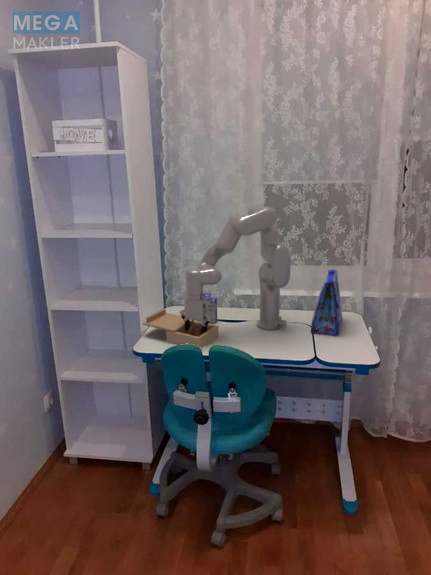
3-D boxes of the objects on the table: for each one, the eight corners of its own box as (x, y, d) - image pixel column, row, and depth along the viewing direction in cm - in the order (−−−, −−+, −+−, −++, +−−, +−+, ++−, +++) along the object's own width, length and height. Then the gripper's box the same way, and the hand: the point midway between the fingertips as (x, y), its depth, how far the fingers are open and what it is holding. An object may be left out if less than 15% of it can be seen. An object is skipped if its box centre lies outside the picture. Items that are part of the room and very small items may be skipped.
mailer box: (218, 336, 218) (218, 326, 216) (199, 349, 205) (199, 338, 203) (186, 329, 227) (186, 319, 225) (166, 341, 214) (166, 330, 212)
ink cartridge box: (217, 319, 238) (217, 292, 234) (215, 323, 233) (215, 296, 229) (199, 318, 240) (198, 292, 236) (196, 322, 235) (195, 295, 231)
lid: (194, 320, 223) (194, 314, 222) (174, 332, 210) (174, 325, 209) (164, 313, 232) (163, 307, 231) (142, 324, 219) (142, 318, 218)
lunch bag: (339, 336, 215) (343, 277, 206) (309, 333, 219) (312, 274, 210) (342, 320, 234) (346, 264, 226) (315, 317, 239) (318, 262, 230)
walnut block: (204, 338, 215) (204, 326, 213) (198, 342, 211) (198, 329, 209) (195, 335, 218) (195, 324, 216) (189, 339, 214) (189, 327, 212)
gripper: (215, 296, 207) (216, 332, 212) (184, 290, 216) (185, 325, 221) (206, 301, 201) (207, 338, 206) (174, 295, 210) (175, 330, 215)
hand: (196, 331), depth 214 cm, fingers open, 9 cm apart
